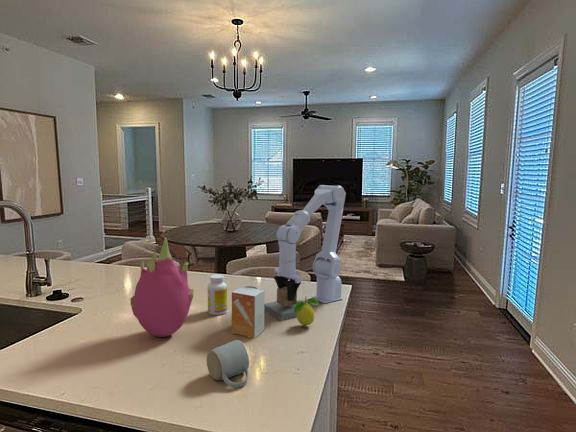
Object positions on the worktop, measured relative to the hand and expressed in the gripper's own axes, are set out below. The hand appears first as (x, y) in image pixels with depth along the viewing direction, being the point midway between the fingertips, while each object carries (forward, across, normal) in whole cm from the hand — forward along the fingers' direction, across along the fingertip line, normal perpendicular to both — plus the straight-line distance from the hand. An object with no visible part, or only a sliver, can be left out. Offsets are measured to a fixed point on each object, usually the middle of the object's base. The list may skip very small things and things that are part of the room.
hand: (287, 297), depth 132 cm
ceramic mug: (+5, +29, -35) cm, 45 cm away
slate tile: (+5, 0, 0) cm, 5 cm away
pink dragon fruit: (+5, -3, -42) cm, 42 cm away
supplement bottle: (+5, -12, -21) cm, 25 cm away
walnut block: (+2, 0, 0) cm, 2 cm away
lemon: (+5, +14, -2) cm, 15 cm away
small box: (+5, +8, -20) cm, 22 cm away
